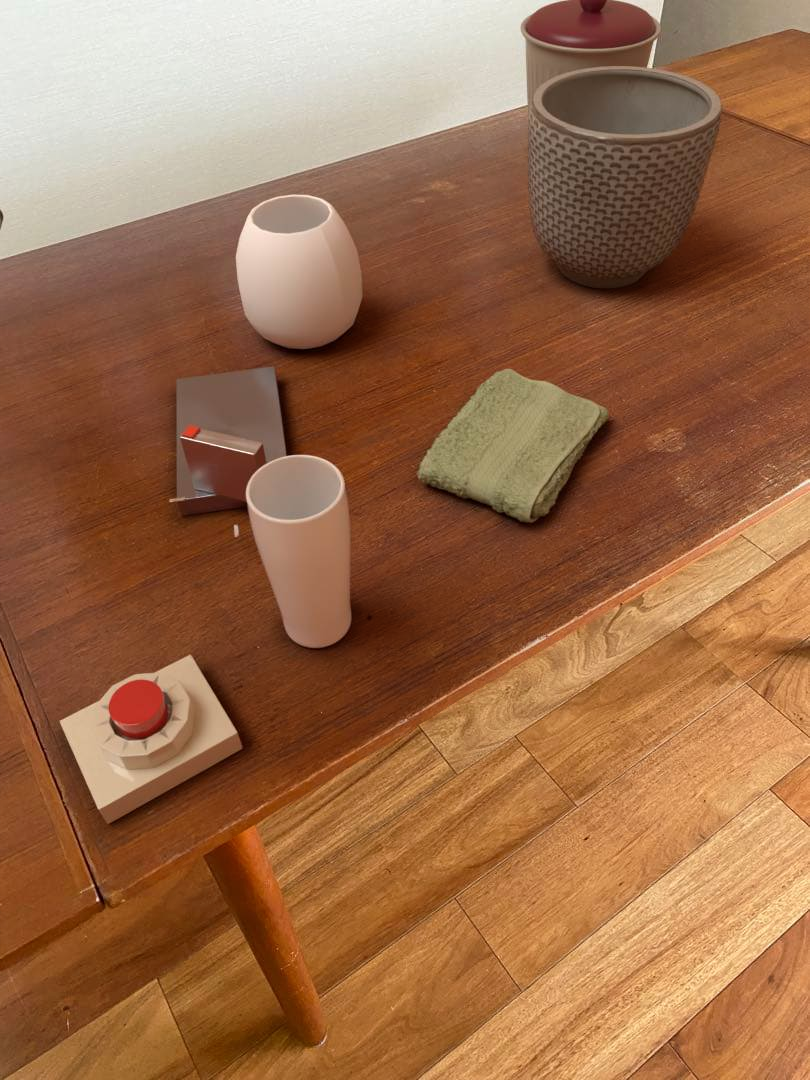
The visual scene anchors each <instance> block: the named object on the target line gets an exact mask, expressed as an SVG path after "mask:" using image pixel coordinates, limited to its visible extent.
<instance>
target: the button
mask: <svg viewBox="0 0 810 1080" xmlns="http://www.w3.org/2000/svg"><path fill="white" fill-rule="evenodd" d="M109 714H110V716H111V718H112V720H113V722H114V724H115V726H116V728H117V729H118V731H119V732H120V733H121V734H122V735H124V736H125V737H128V738H132V739H140V738H145V737H148V736H150V735H153V734H154V733H156V732H157V731H158V730H159V729H161V727H162V726H163V725H164V724H165V722H166V720H167V718H168V714H169V707H168V704H167V702H166V699H165V697H164V695H163V693H162V690H161V688H160V687H159V686H158V685H157V684H156V683H154V682H152V681H149V680H134V681H131V682H128V683H126V684H124V685H122V686H121V687H120V688H119V689H117V690H116V692H115V693H114V694H113V695H112V697H111V699H110V702H109Z"/></svg>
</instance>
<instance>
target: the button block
mask: <svg viewBox="0 0 810 1080" xmlns="http://www.w3.org/2000/svg"><path fill="white" fill-rule="evenodd" d="M134 680H149V681H152V682H154V683H156V684H157V685H158V686H159V687H160V688H161V690H162V693H163V695H164V697H165V699H166V702H167V704H168V707H169V714H168V718H167V720H166V722H165V724H164V725H163V726H162V727H161V729H159V730H158V731H157V732H156V733H154V734H153V735H150V736H148V737H145V738H140V739H132V738H128V737H125V736H124V735H122V734H121V733H120V732H119V731H118V729H117V728H116V726H115V724H114V722H113V720H112V718H111V716H110V714H109V702H110V699H111V697H112V695H113V694H114V693H115V692H116V690H117V689H119V688H120V687H121V686H122V685H124V684H126V683H128V682H131V681H134ZM59 724H60V726H61V728H62V730H63V733H64V735H65V737H66V740H67V742H68V744H69V746H70V749H71V751H72V754H73V755H74V758H75V760H76V762H77V765H78V767H79V769H80V772H81V774H82V776H83V779H84V781H85V783H86V786H87V787H88V790H89V792H90V794H91V796H92V799H93V802H94V803H95V806H96V808H97V810H98V812H99V813H100V815H101V816H102V818H103V820H104V821H105V822H106V825H109V824H111V823H113V822H115V821H117V820H119V819H120V818H121V817H124V816H125V815H127V814H129V813H131V812H133V811H135V810H137V808H140V807H141V806H144V805H145V804H147V803H148V802H150V801H152V800H154V799H156V798H157V797H159V796H161V795H163V794H165V793H166V792H168V791H170V790H171V789H174V788H175V787H177V786H179V785H180V784H182V783H184V782H186V781H188V780H190V779H191V778H193V777H195V776H197V775H198V774H200V773H202V772H204V771H205V770H207V769H209V768H211V767H213V766H214V765H216V764H217V763H219V762H221V761H223V760H225V759H227V758H228V757H230V756H232V755H234V754H236V753H238V752H239V751H241V750H243V744H242V741H241V739H240V735H239V733H238V731H237V729H236V727H235V726H234V724H233V722H232V720H231V719H230V717H229V716H228V713H227V712H226V711H225V709H224V707H223V706H222V704H221V702H220V701H219V699H218V697H217V695H216V694H215V692H214V690H213V689H212V687H211V686H210V684H209V682H208V681H207V679H206V677H205V676H204V674H203V672H202V671H201V669H200V667H199V666H198V664H197V662H196V660H195V659H194V657H193V655H192V654H187V655H186V656H184V657H182V658H180V659H178V660H177V661H175V662H172V663H170V664H169V665H167V666H164V667H162V668H161V669H159V670H156V671H155V672H149V673H148V672H145V673H136V674H135V673H134V674H132V675H131V676H129V677H126V678H124V679H123V680H121V681H118V682H117V683H115V684H112V685H111V686H110V687H109V689H108V690H107V691H106V692H105V693H104V695H103V696H102V697H101V698H100V699H99V700H97V701H96V702H94V703H92V704H90V705H88V706H86V707H84V708H82V709H80V710H77V711H76V712H74V713H72V714H70V715H68V716H66V717H64V718H63V719H61V720H59Z"/></svg>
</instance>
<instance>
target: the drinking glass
mask: <svg viewBox="0 0 810 1080" xmlns="http://www.w3.org/2000/svg"><path fill="white" fill-rule="evenodd" d="M246 500H247V506H248V507H247V513H248V518H249V523H250V527H251V532H252V535H253V539H254V542H255V545H256V548H257V551H258V554H259V557H260V560H261V563H262V565H263V568H264V571H265V573H266V575H267V578H268V581H269V584H270V587H271V589H272V592H273V595H274V597H275V601H276V603H277V606H278V609H279V612H280V616H281V619H282V624H283V627H284V630H285V632H286V634H287V636H288V637H289V638H290V640H292V641H293V642H294V643H296V644H298V645H300V646H301V647H305V648H309V649H321V648H327V647H330V646H332V645H335V644H336V643H337V642H339V641H340V640H341V639H342V638H343V637H345V635H346V634H347V633H348V631H349V629H350V627H351V625H352V618H353V617H352V607H351V534H352V533H351V532H352V531H351V516H350V506H349V499H348V493H347V488H346V483H345V478H344V476H343V473H342V472H341V470H340V469H339V468H338V467H337V466H336V465H335V464H334V463H332V462H330V461H329V460H327V459H324V458H322V457H319V456H315V455H309V454H292V455H287V456H285V457H281V458H278V459H275V460H273V461H271V462H269V463H267V464H265V465H264V466H262V467H261V468H260V469H258V470H257V471H256V472H255V473H254V474H253V476H252V477H251V478H250V480H249V482H248V484H247V488H246Z"/></svg>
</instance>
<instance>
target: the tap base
mask: <svg viewBox="0 0 810 1080" xmlns="http://www.w3.org/2000/svg"><path fill="white" fill-rule="evenodd" d="M175 382H176V383H175V385H176V386H175V387H176V388H175V389H176V392H175V396H176V398H175V399H176V400H175V403H176V405H175V407H176V408H175V410H176V411H175V413H176V415H175V417H176V422H175V423H176V425H175V426H176V427H175V428H176V497H175V498H174V497H173V498H169V499H168V500H169V501H168V502H169V504H173V503H174V504H175V503H177V506H178V510H179V512H180V513H179V514H180V515H181V517H186V516H193V515H201V514H206V513H207V514H208V513H213V512H220V511H227V510H234V509H241V508H246V507H247V508H248V506H247V502H246V501H242V500H238V499H234V498H230V497H226V496H222V495H218V494H214V493H210V492H206V491H202V490H198V489H195V488H194V484H193V481H192V477H191V474H190V470H189V467H188V464H187V460H186V457H185V453H184V450H183V446H182V443H181V440H180V436H181V435H182V434H183V432H184V431H185V430H186V429H187V427H188V426H189V425H192V426H196V427H200V429H205V430H209V431H213V432H218V433H222V434H226V435H231V436H235V437H239V438H244V439H248V440H252V441H257V442H261V443H263V447H264V452H265V457H266V462H267V463H269V462H271V461H273V460H275V459H278V458H281V457H285V456H288V449H287V443H286V442H287V441H286V436H285V435H286V434H285V429H284V421H283V414H282V407H281V399H280V392H279V384H278V379H277V373H276V367H275V365H271V366H264V367H256V368H250V369H242V370H234V371H225V372H220V373H212V374H204V375H197V376H189V377H181V378H176V379H175ZM233 533H234V534H233V535H234V539H238V538H240V530H239V524H234V525H233Z"/></svg>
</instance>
